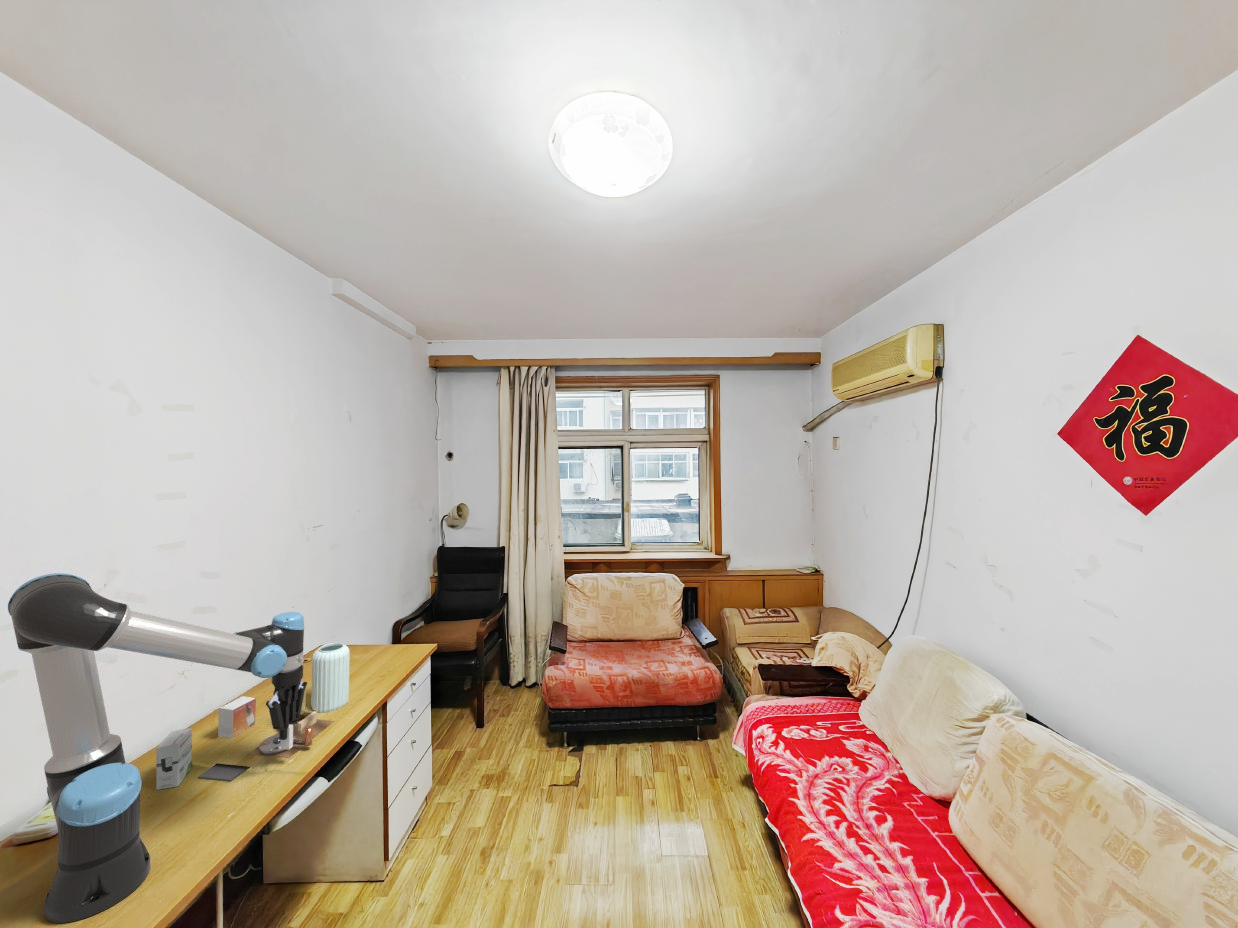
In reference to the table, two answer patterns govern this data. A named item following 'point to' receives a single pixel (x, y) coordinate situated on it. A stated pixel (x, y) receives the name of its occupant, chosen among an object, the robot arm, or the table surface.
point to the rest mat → (223, 772)
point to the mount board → (317, 729)
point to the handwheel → (273, 742)
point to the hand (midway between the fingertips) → (286, 747)
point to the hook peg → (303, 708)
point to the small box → (236, 717)
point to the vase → (330, 677)
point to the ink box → (173, 758)
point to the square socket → (305, 722)
